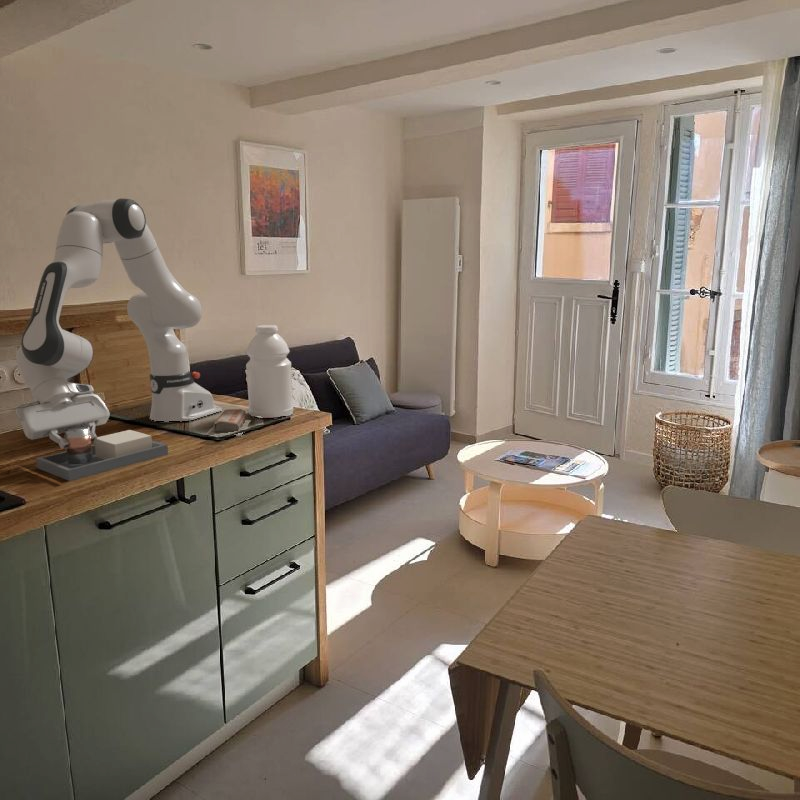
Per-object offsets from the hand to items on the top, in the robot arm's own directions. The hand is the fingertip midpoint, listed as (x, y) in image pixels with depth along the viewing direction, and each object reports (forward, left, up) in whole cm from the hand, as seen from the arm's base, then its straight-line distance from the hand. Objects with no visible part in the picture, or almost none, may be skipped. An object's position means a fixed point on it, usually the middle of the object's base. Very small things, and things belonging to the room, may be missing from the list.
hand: (79, 443), depth 175 cm
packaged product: (-46, -1, -7) cm, 46 cm away
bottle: (-65, -6, -7) cm, 66 cm away
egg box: (-12, -1, -6) cm, 13 cm away
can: (0, -1, -5) cm, 5 cm away
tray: (-6, -1, -7) cm, 9 cm away
